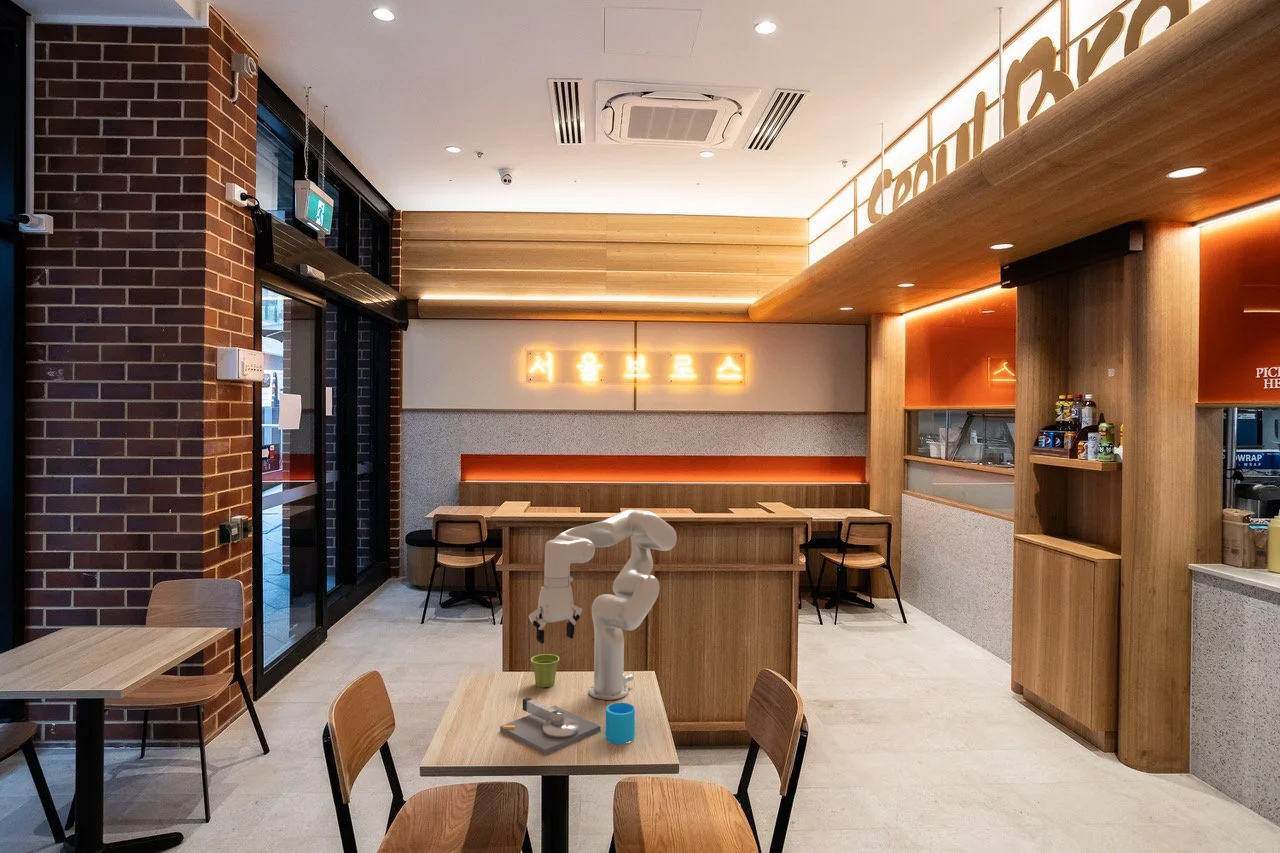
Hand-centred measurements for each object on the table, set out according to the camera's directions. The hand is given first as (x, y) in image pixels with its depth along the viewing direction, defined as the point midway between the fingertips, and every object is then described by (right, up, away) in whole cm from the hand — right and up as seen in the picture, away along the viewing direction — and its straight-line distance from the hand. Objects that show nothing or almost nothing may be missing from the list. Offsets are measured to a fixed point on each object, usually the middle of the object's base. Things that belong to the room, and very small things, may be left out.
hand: (555, 639), depth 209 cm
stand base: (0, -23, -9) cm, 25 cm away
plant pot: (-7, -23, +25) cm, 35 cm away
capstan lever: (-1, -21, -9) cm, 23 cm away
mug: (+20, -24, -11) cm, 32 cm away
